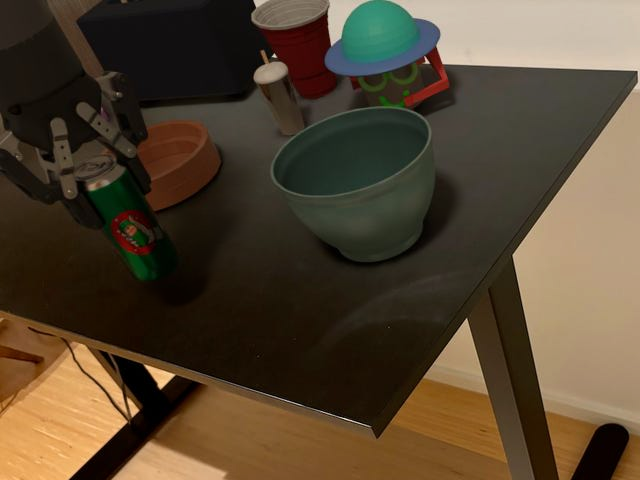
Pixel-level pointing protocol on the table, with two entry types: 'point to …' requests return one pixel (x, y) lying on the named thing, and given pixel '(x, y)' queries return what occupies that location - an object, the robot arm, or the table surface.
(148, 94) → the speaker
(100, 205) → the soda can
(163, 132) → the terracotta plant saucer
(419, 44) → the toy robot
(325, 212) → the flower pot
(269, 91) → the milkshake
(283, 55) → the plastic cup
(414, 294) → the table surface
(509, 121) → the table surface
